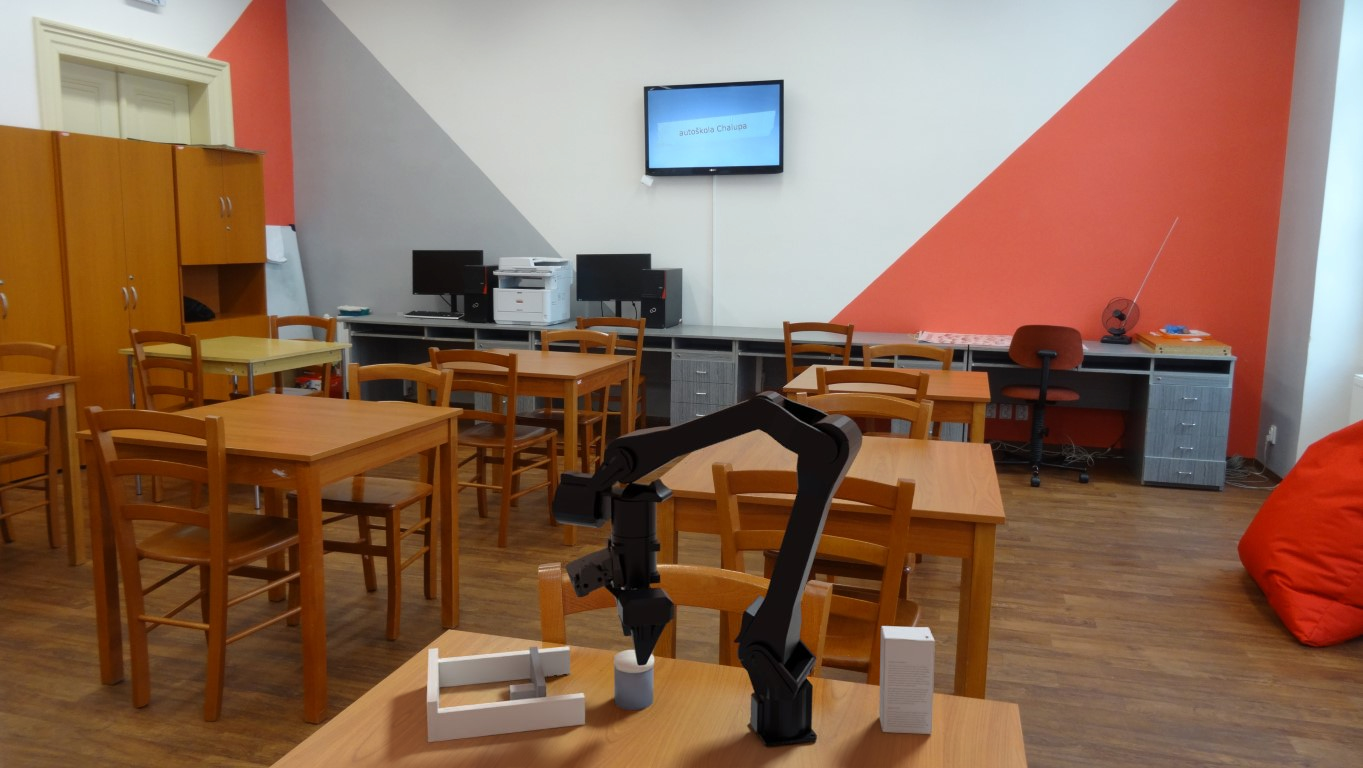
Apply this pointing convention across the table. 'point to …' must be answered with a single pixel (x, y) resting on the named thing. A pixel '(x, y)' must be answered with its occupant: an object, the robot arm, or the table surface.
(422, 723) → the table surface
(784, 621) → the robot arm
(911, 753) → the table surface
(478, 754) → the table surface
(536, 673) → the pusher
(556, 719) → the lane
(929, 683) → the skincare box
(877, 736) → the table surface
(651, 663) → the jar
